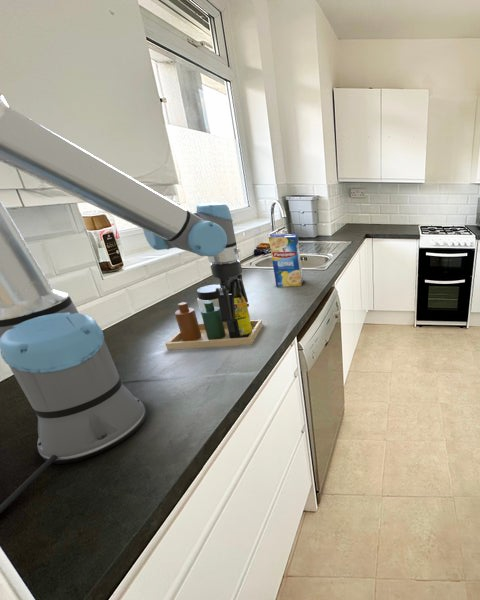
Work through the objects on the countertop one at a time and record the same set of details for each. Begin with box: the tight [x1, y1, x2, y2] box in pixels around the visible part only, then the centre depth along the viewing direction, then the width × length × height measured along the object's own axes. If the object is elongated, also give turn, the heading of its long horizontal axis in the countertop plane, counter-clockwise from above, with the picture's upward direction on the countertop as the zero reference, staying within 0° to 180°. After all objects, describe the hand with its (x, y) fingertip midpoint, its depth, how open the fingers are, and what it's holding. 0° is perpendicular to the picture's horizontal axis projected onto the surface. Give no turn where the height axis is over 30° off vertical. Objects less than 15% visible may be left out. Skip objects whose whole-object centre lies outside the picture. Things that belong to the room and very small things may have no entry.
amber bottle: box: [174, 301, 201, 341], centre depth 92 cm, size 5×5×11 cm
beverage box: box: [268, 233, 304, 288], centre depth 139 cm, size 7×11×22 cm, turn 100°
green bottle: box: [200, 301, 226, 340], centre depth 93 cm, size 5×5×11 cm
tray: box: [165, 319, 264, 351], centre depth 95 cm, size 13×23×3 cm, turn 98°
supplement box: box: [234, 297, 252, 338], centre depth 94 cm, size 6×6×11 cm
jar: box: [196, 283, 220, 323], centre depth 104 cm, size 9×8×12 cm
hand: (240, 333), depth 96 cm, fingers closed on supplement box, 8 cm apart
